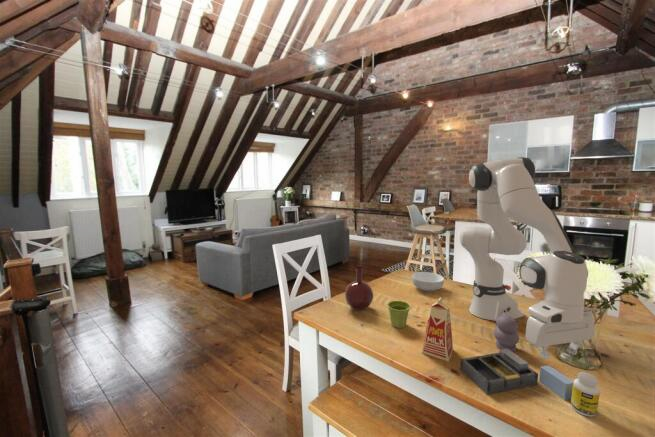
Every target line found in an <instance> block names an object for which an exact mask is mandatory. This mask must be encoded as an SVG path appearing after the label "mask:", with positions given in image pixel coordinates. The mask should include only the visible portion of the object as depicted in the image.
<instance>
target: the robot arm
mask: <svg viewBox="0 0 655 437" xmlns="http://www.w3.org/2000/svg"><path fill="white" fill-rule="evenodd" d="M534 163H535V162H533V161H532V160H531V158H529V157H523V156H522V157H521V156H518V157H516V158H515V157H511V158H509V157H508V158H502V159H501V158H500V159H498V160H497V159H496V160H492V161H486V162H480V163H476V164H474V165H473V166H471V167H470V169H469V171H468V172H469V173H468V181H469V185H470V187H471V188H472V189H474V190H475V191H477V195H476V196H477V197H476V200H477V203H476V205H477V206H476V212H477V213H476V214H477V217H478V218H479V220H480V221H482V222H484V223H485V224H488V225H489V226H490V227H485V226H469V227H464V228H463V229H462V231H460V234H459V242H460V245H461V247H462V248H464V250H466V252H468V253H469V255H470V257H471V258H472V260H473V264H474V280H473V288H472V289H473V295H472V299H471V303H470V307H469V309H468V310H469V313H471V314H472V315H473V316H475V317H478V318H480V319H484V320H489V321H493V322H496V321H497V319H498V317H500V316H502V315H503V313H504V312H505V314H506V315H508V316H511V317H512V318H514V319H515V320H516V319H519V318H523V317H524V316H525V314H524V312H523V311H522V310H520V309H519V306H518V302H517V300H516V299H515V298H514V297H512V295H510V294H509V293H507V290H508V291H510V290H512V289H511V288H512V286H511V285H508V284H504V272H505V270H504V267H503V265H502V264H501V263H500V262H499V261H496V260H495V259H494V258H493V257H491V255H490V254H494V255H495V254H496V255H504V256H518V255H521V254H522V253H523V252H524V251H525V250H526V248H527V243H528V242H527V237H526V236H525V234H524V233H523V232H522V231H520V230H519V229H517V228H516V227H515V226H514V225H513V223H512V222H511V220H512V221H514V222H517V223H519V224H524V225H526V226H529V227H531V228H532V229H533V228H534V229H535V230H537V231H538V232H540V233H541V235H542V236H543V238H544V240H545V242H546V244H547V246H548V248H549V250H550V254H547V255H546V254H545V255H541V256H530V257H526V258H523V260H522V262H521V263H520V264H519V268H518V269H519V272H518V273H519V278H520V280H521V281H522V283H523V284H524V285H525V286H527V287H529V288H532V289H534V290H535V289H536V290H541V291H544V299H541V300H540V301H539V302H538V303H535V304H532V305H531V306H530V307H529V308H528V314H529V315H530V316H528V319H527V321H526V327H525V339H526V341H527V342H528V343H529V344H531V345H532V346H534V347H537V348H538V350H539V357H540V358H542V359H543V360H549V359H550V358H551V353H550V352H548V351H547V349H549V346H556V345H563V344H569V345H568V346H566V352H567V354H568V355H570V356H574V355H577V354H578V349H579V348H580V347H581V345H582V342H583V341H591V340H592V339H593V338H594V336H595V320H594V317H593V314H594V313H593V311H592V309H591V308H590V307H588V306H585V298H584V294H585V292H586V290H587V286H588V284H587V283H588V277H589V270H588V267H587V266H588V265H587V263H586V260H585V258H584V257H582V256H581V255H580V254H578V252H576V250H575V248H574V246H573V244H572V242H571V240H570V239H569V235H568V234H567V232H566V231H565V229H564V226H563V225H562V223H561V221H560V219H559V218H558V216H557V215H556V213H555V212H554V211H553V210H552V209H550V208H549V207H548V206H547V204H545V202H544V201H543V200H542V198H541V196H540V195H539V193H538V192H539V191H538V190H537V187H536V185H535V182H534V178H535V177H536V167H535V164H534ZM510 219H511V220H510Z"/></svg>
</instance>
